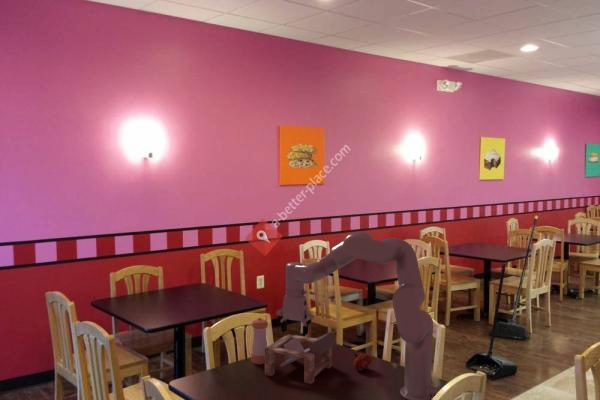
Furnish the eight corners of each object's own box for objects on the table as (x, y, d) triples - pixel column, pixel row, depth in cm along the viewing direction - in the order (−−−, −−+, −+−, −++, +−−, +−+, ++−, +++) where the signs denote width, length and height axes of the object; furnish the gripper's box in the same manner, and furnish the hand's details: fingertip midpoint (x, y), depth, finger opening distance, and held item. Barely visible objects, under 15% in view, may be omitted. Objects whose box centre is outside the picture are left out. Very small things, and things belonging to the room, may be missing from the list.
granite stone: (304, 350, 223) (298, 337, 224) (299, 354, 218) (292, 341, 219) (295, 355, 225) (288, 342, 226) (289, 358, 220) (283, 345, 221)
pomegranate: (372, 373, 224) (356, 355, 228) (381, 363, 220) (364, 345, 225) (362, 380, 219) (346, 362, 223) (370, 370, 215) (354, 351, 219)
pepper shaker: (270, 363, 230) (270, 319, 229) (254, 365, 227) (254, 321, 226) (265, 357, 237) (265, 314, 236) (249, 359, 234) (249, 316, 233)
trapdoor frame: (331, 366, 226) (331, 340, 226) (311, 384, 208) (311, 356, 207) (288, 358, 235) (288, 334, 235) (264, 374, 217) (264, 348, 216)
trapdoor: (336, 342, 221) (331, 331, 222) (323, 353, 208) (317, 341, 209) (298, 360, 229) (292, 349, 230) (283, 371, 217) (277, 360, 218)
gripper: (317, 292, 220) (317, 333, 221) (280, 288, 228) (280, 328, 229) (309, 296, 213) (309, 338, 214) (272, 292, 221) (272, 332, 222)
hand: (294, 333), depth 221 cm, fingers open, 9 cm apart
